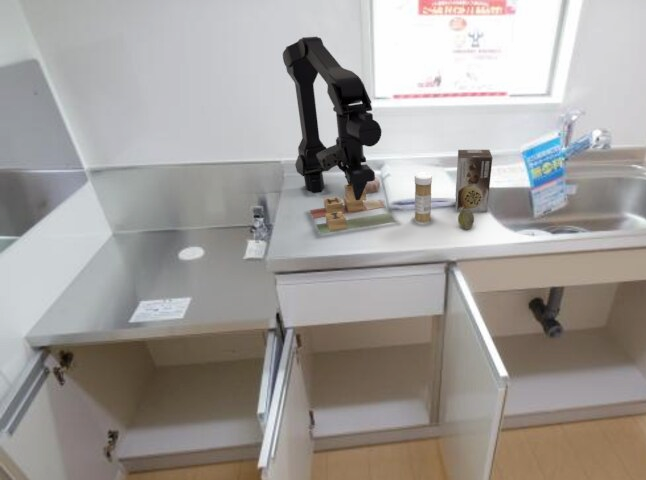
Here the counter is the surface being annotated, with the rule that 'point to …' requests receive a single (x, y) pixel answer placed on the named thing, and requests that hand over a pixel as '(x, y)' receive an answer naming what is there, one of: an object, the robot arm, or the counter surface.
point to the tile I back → (353, 205)
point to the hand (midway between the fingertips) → (355, 196)
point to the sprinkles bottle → (423, 196)
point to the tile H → (333, 205)
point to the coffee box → (473, 180)
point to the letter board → (356, 221)
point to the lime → (466, 219)
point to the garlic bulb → (372, 186)
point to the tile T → (350, 194)
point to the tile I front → (336, 221)
